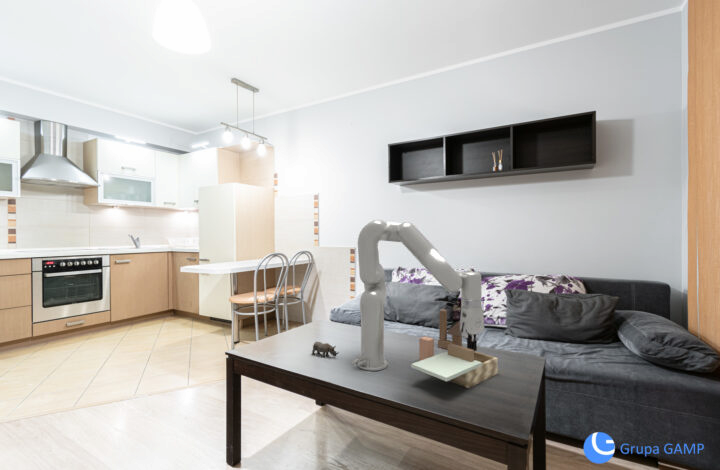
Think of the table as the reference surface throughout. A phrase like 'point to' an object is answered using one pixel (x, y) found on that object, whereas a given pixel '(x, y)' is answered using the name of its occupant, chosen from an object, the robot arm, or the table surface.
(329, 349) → the rhino figurine
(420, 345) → the salmon rectangular block
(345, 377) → the table surface
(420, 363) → the lid
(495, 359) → the tan wooden low box
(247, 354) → the table surface
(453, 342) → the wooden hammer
